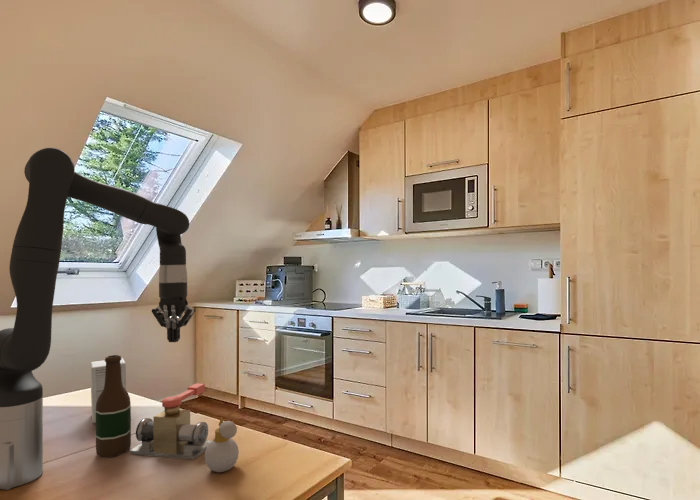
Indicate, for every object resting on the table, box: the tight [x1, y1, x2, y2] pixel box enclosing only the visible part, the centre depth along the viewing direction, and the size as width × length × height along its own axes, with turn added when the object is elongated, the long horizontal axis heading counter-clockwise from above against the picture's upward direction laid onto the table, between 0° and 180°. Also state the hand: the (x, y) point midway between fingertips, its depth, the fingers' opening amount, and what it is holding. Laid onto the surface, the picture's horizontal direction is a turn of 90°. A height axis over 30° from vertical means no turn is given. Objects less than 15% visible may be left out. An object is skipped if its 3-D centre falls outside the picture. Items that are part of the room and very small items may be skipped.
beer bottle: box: [95, 354, 132, 459], centre depth 110 cm, size 8×8×24 cm
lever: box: [161, 382, 206, 408], centre depth 116 cm, size 15×5×2 cm, turn 167°
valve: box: [128, 405, 213, 460], centre depth 111 cm, size 9×18×11 cm, turn 77°
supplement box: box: [90, 357, 127, 424], centre depth 136 cm, size 10×9×17 cm
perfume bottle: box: [204, 417, 240, 473], centre depth 99 cm, size 8×10×12 cm
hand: (173, 341), depth 124 cm, fingers closed
